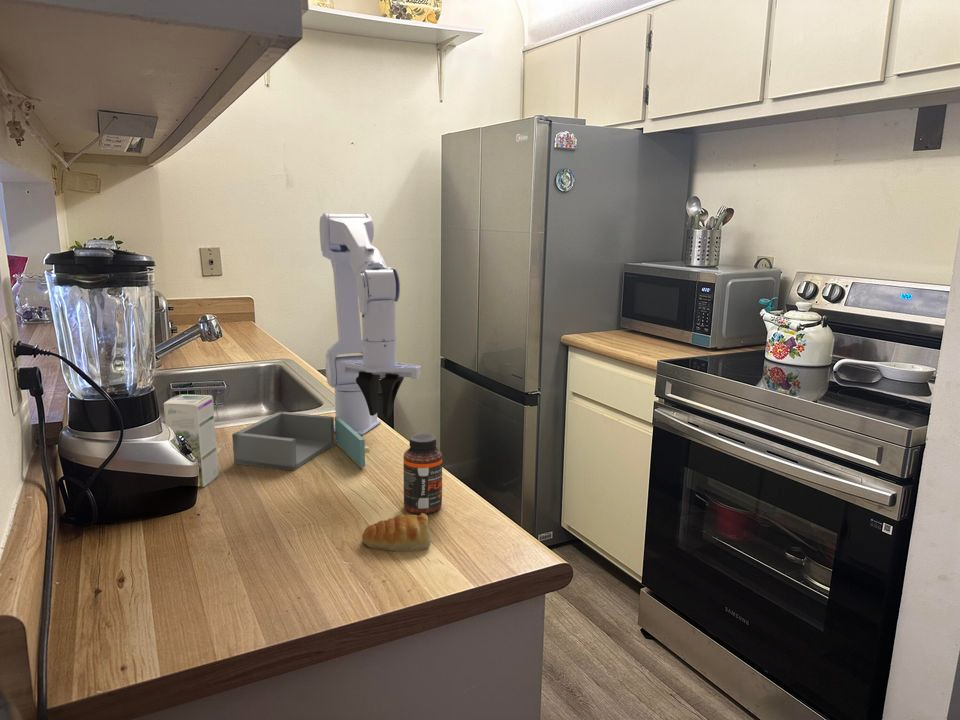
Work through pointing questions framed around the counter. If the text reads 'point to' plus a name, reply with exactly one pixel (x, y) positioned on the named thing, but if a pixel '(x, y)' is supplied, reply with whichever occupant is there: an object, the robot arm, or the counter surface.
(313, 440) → the grey open box
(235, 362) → the counter surface
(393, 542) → the pastry
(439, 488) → the supplement bottle
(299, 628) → the counter surface
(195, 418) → the syrup box
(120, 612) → the counter surface
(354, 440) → the door
